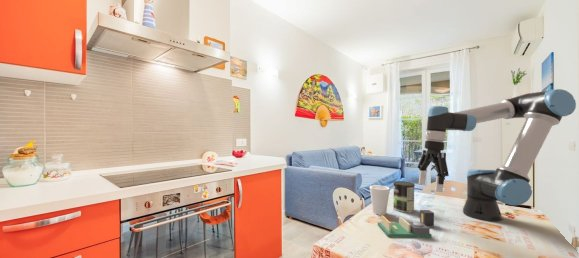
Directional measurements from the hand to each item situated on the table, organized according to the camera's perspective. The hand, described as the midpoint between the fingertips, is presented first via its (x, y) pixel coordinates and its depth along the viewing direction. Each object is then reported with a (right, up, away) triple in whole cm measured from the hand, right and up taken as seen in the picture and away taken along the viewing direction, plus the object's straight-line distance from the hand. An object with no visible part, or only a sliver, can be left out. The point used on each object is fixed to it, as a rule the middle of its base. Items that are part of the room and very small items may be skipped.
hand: (429, 187), depth 110 cm
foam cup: (-17, -17, +15) cm, 28 cm away
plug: (-1, -17, 0) cm, 17 cm away
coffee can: (-2, -17, +21) cm, 27 cm away
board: (-15, -16, -7) cm, 24 cm away
